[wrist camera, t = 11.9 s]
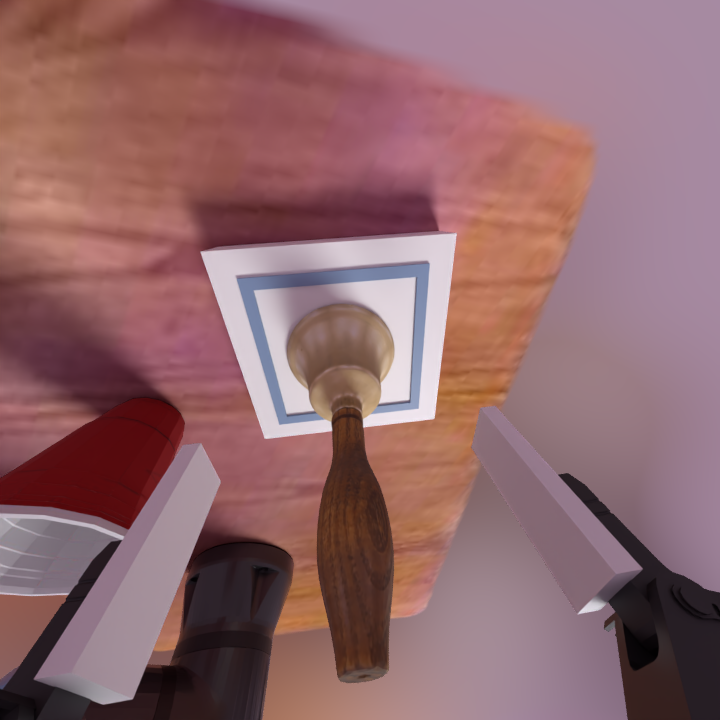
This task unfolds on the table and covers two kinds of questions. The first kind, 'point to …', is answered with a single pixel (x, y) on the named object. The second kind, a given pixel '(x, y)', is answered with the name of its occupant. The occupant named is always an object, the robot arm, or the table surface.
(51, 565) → the plastic cup
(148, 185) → the table surface
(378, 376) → the hand bell
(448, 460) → the table surface
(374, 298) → the display board
